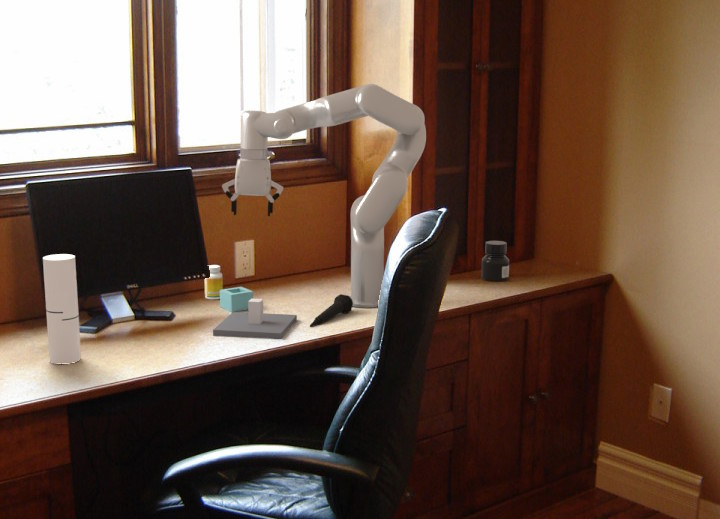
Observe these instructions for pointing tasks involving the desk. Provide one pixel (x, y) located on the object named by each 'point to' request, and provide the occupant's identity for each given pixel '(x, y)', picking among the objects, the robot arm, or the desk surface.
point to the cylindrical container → (62, 308)
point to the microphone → (334, 309)
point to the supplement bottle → (213, 283)
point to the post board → (255, 323)
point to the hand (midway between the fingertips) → (251, 215)
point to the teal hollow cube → (235, 298)
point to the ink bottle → (495, 262)
